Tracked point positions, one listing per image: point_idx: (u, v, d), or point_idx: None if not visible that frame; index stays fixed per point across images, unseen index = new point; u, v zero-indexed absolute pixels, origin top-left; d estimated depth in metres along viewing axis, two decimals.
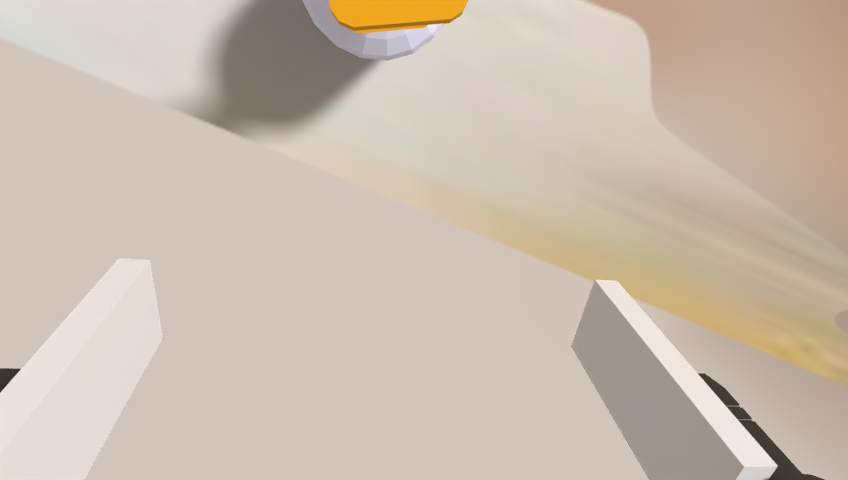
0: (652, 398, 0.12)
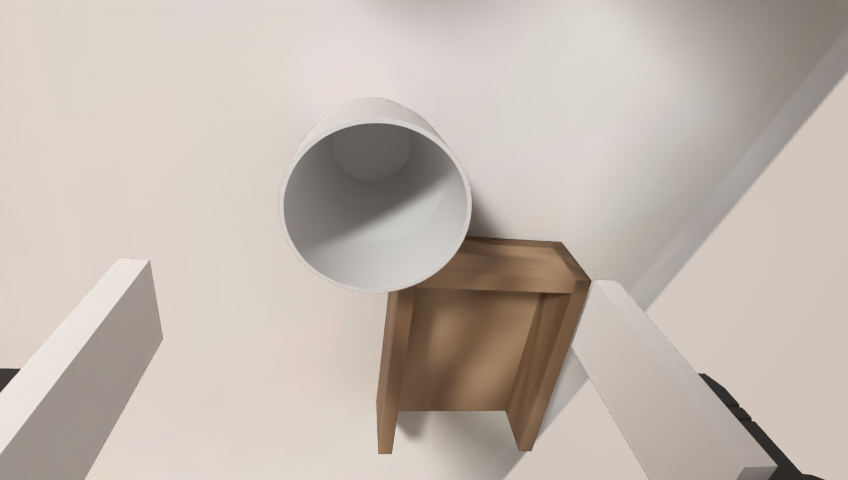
0: (652, 398, 0.12)
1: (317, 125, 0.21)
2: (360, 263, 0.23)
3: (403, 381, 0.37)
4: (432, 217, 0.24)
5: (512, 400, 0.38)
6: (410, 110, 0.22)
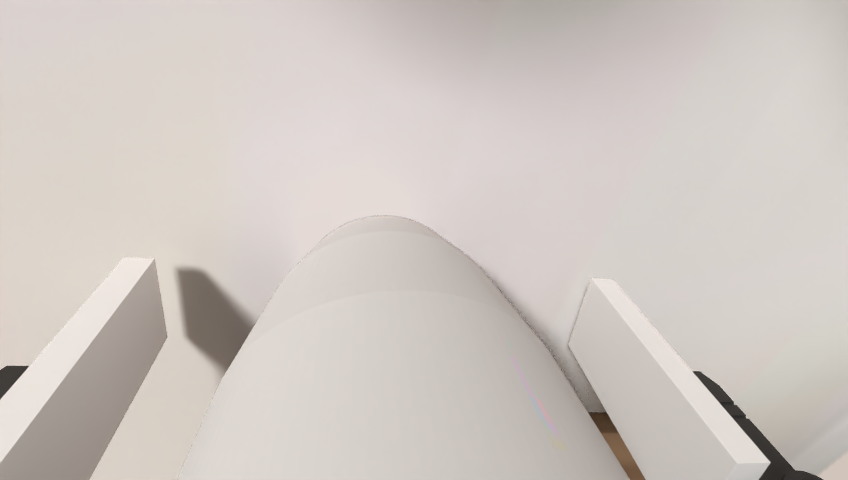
0: (647, 396, 0.12)
1: (243, 381, 0.07)
2: None
3: None
4: None
5: None
6: (489, 310, 0.09)
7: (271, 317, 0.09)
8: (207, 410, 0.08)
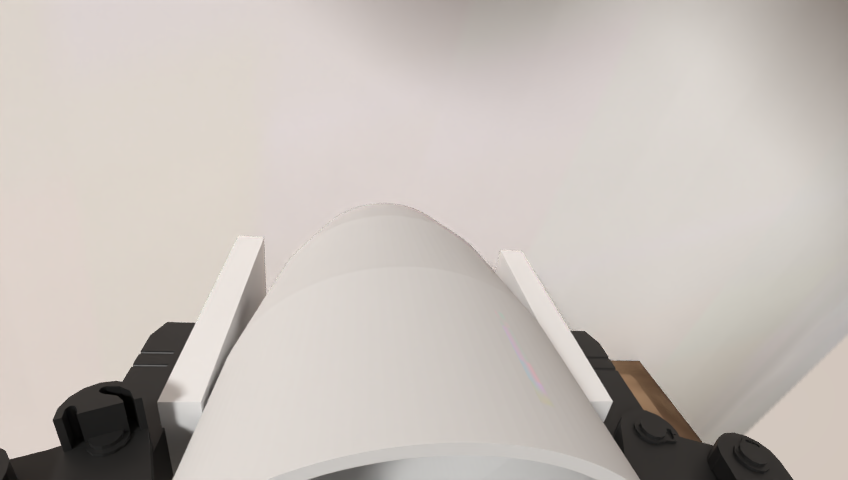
0: None
1: (252, 349, 0.08)
2: None
3: None
4: (512, 468, 0.12)
5: None
6: (483, 286, 0.09)
7: (277, 293, 0.09)
8: (217, 379, 0.09)
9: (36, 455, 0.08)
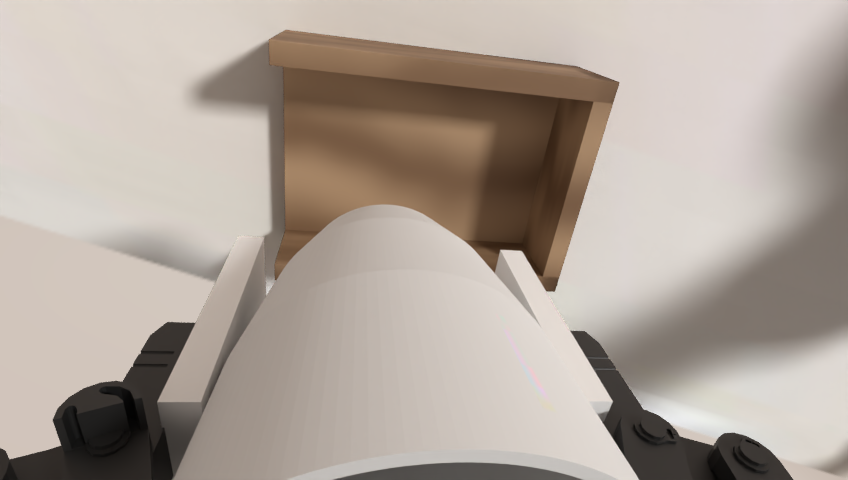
0: None
1: (251, 353, 0.08)
2: None
3: (348, 78, 0.24)
4: (513, 471, 0.12)
5: None
6: (484, 289, 0.09)
7: (276, 296, 0.09)
8: (216, 383, 0.09)
9: (36, 455, 0.08)
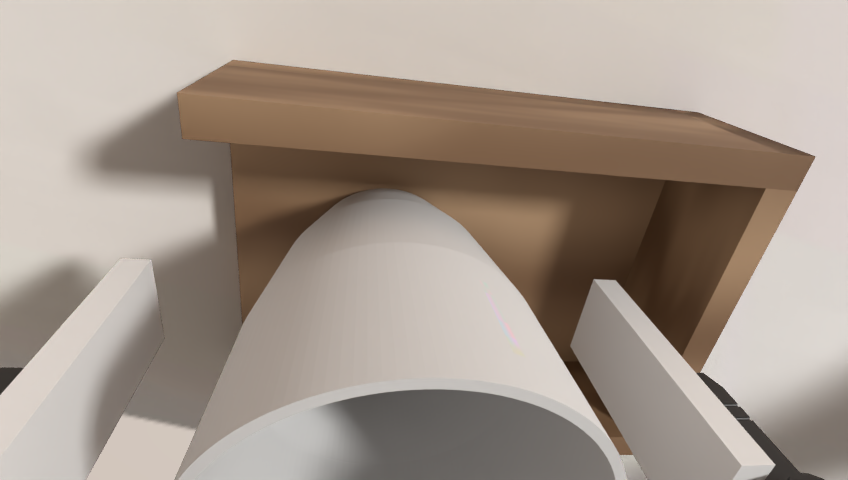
0: (650, 397, 0.12)
1: (267, 312, 0.09)
2: None
3: None
4: (499, 429, 0.13)
5: None
6: (471, 260, 0.10)
7: (287, 266, 0.11)
8: (235, 341, 0.10)
9: None
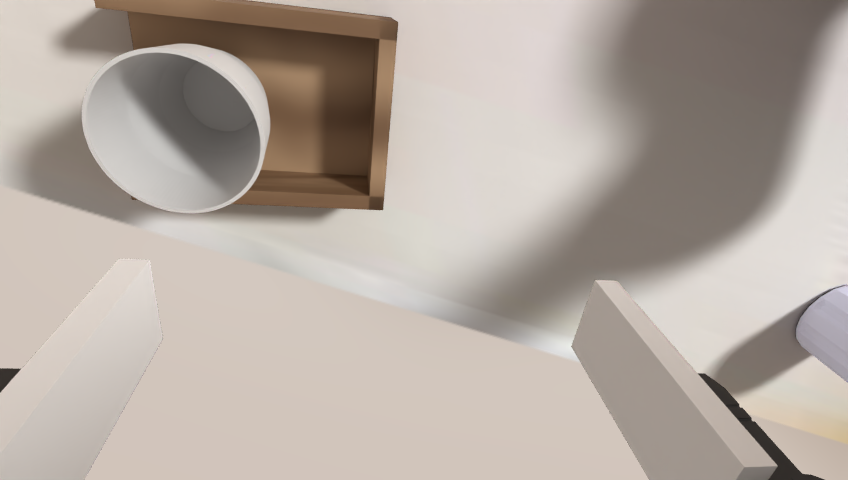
0: (652, 398, 0.12)
1: None
2: (186, 192, 0.26)
3: (187, 26, 0.29)
4: (258, 153, 0.27)
5: None
6: (219, 52, 0.25)
7: None
8: None
9: None
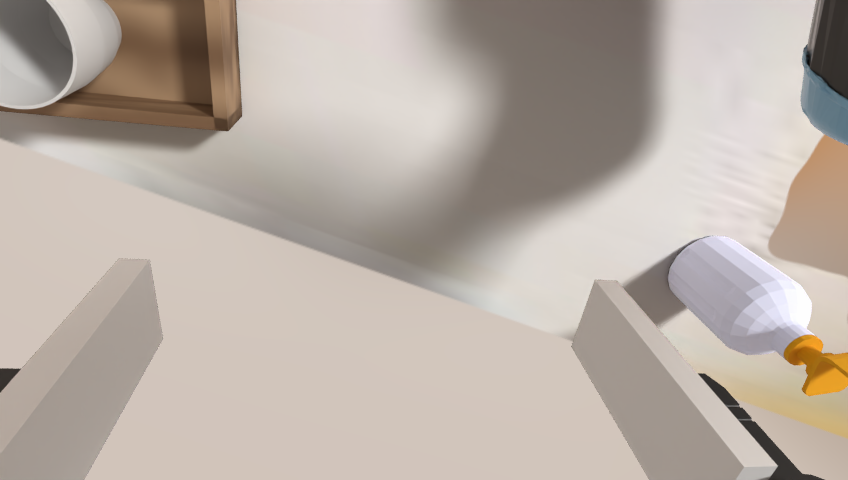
0: (652, 398, 0.12)
1: None
2: (26, 95, 0.31)
3: None
4: None
5: None
6: None
7: None
8: None
9: None
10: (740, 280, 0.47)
